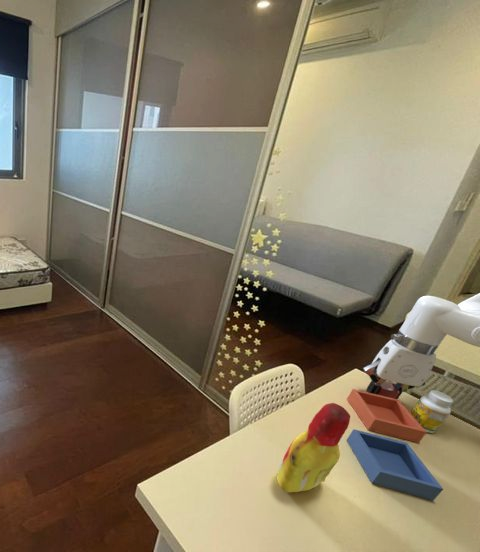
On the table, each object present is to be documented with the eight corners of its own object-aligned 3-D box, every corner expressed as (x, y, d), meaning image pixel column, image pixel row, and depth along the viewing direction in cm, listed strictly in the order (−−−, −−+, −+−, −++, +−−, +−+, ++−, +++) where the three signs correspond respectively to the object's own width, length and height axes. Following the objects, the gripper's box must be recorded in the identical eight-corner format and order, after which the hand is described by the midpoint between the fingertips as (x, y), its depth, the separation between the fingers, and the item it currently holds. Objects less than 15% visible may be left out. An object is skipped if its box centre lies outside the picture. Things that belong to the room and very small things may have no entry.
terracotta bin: (391, 409, 85) (398, 399, 83) (418, 443, 75) (427, 432, 74) (346, 398, 87) (352, 388, 85) (367, 430, 77) (375, 419, 76)
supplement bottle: (439, 437, 78) (462, 408, 74) (411, 427, 80) (432, 398, 76) (429, 421, 82) (451, 393, 78) (403, 412, 84) (422, 384, 80)
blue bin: (399, 453, 72) (407, 442, 70) (433, 500, 63) (443, 489, 61) (346, 439, 74) (353, 428, 73) (371, 483, 65) (380, 471, 63)
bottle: (289, 506, 59) (336, 429, 50) (260, 474, 64) (298, 400, 56) (330, 486, 63) (379, 412, 55) (299, 457, 68) (340, 386, 60)
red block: (383, 393, 90) (390, 382, 89) (392, 403, 87) (400, 392, 85) (367, 389, 91) (374, 379, 90) (375, 399, 88) (382, 388, 86)
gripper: (386, 343, 80) (353, 397, 87) (466, 359, 77) (424, 415, 84) (369, 327, 87) (340, 379, 94) (442, 342, 83) (406, 395, 91)
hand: (380, 395), depth 89 cm, fingers closed on red block, 4 cm apart
